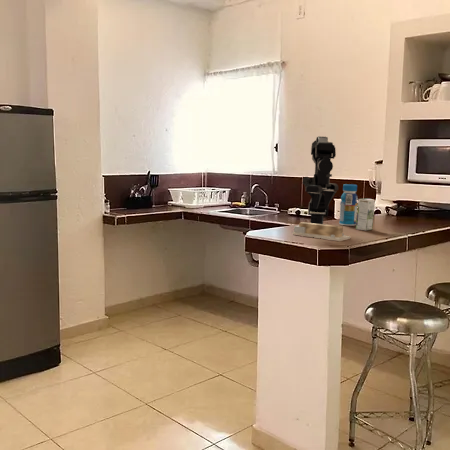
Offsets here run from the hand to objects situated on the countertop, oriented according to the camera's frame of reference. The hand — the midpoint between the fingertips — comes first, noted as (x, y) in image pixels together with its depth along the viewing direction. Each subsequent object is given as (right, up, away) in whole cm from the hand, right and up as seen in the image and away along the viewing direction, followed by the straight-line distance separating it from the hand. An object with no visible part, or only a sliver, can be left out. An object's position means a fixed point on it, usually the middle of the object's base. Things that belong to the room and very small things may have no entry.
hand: (321, 207), depth 238 cm
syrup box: (+24, -10, +21) cm, 33 cm away
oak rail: (-1, -11, -5) cm, 12 cm away
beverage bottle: (+19, -8, +36) cm, 41 cm away
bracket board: (-1, -12, -5) cm, 13 cm away
